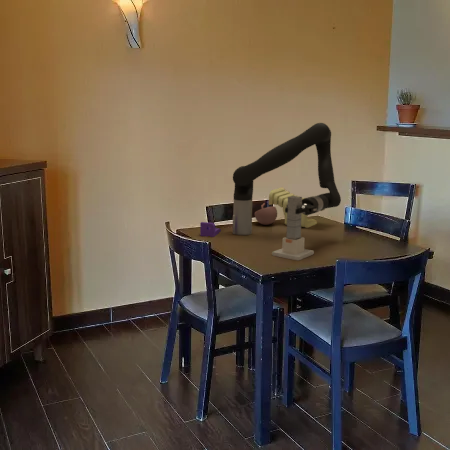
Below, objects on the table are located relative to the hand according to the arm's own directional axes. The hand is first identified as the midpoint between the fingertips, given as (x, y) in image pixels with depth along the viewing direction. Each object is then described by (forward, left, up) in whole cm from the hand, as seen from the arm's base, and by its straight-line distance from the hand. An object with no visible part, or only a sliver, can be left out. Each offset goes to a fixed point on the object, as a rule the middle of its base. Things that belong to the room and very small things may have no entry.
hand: (291, 211), depth 242 cm
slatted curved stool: (+3, +64, -20) cm, 67 cm away
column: (+1, +2, -16) cm, 17 cm away
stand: (+1, +2, -20) cm, 20 cm away
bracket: (-40, +35, -20) cm, 57 cm away
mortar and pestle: (-15, +60, -20) cm, 65 cm away
